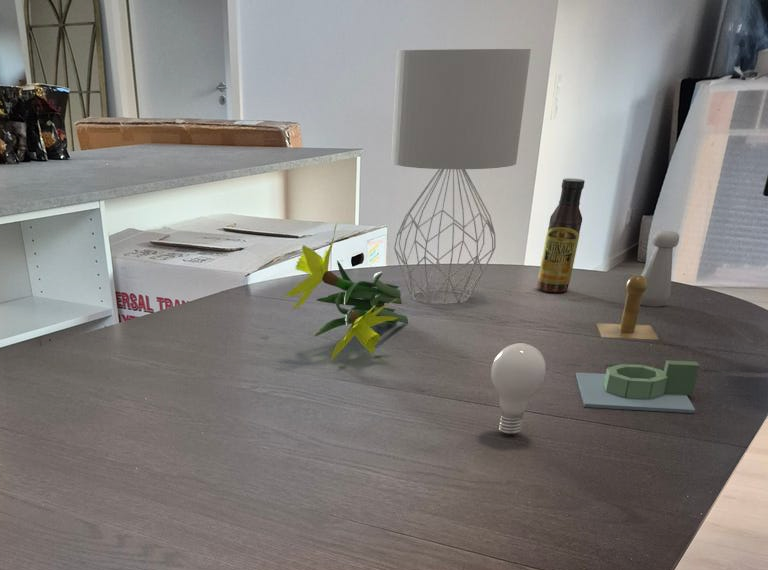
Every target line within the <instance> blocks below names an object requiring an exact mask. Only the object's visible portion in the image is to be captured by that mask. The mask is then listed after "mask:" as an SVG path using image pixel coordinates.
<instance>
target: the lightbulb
mask: <svg viewBox="0 0 768 570" xmlns="http://www.w3.org/2000/svg"><path fill="white" fill-rule="evenodd" d="M546 374H547V363H546V360H545V357H544V355H543V354H542V353H541V351H540V350H539V349H538V348H536V347H535V346H533V345H532V344H528V343H522V342H520V343H519V342H518V343H513V344H510V345H507V346H506V347H504V348H502V349H501V350H500V351H499V352H498V353H497V355H496V356H495V358H494V360H493V362H492V364H491V369H490V377H491V378H490V379H491V382H492V385H493V387H494V390H495V392H496V393H497V395H498V400H499V409H500V419H499V421H500V422H499V426H498V427H499V428H498V430H499V431H500V432H501V433H502V434H504V435H505V436H509V437H510V436H514V435H517V434H518V433H520V432H521V431H522V426H523V425H522V424H523V420H524V419H523V418H524V413H525V411H526V410H527V408H528V405H529V403H530V401H531V399H532V397H533V396H534V395H535V394H536V393H537V391H538V390H539V389H540V388H541V386H542V385H543V383H544V381H545V378H546Z"/></svg>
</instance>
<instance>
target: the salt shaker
mask: <svg viewBox="0 0 768 570" xmlns="http://www.w3.org/2000/svg"><path fill="white" fill-rule="evenodd" d="M679 242H680V234H679V233H678V232H677V231H674V230H660V231H657V232H656V233H654V235H653V238H652V245H653V246H654V248H653V250H652V254H651V257H650V259H649V261H648V264H647V266H646V269H645V272H644V274H643V276H644V277H645V278H646V280H647V288H646V290H645V291H644V292H643V294H642V299H641V303H640V306H645V307H652V308H656V307H664V306H665V305H666V304H667V302H668V300H669V299H670V298H671V295H672V293H671V292H672V275H673V274H672V273H673V272H672V271H673V249H674V248H676V247H677V246H678V245H679Z"/></svg>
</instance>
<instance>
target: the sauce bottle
mask: <svg viewBox="0 0 768 570" xmlns="http://www.w3.org/2000/svg"><path fill="white" fill-rule="evenodd" d="M584 187H585V179H581V178H574V177H573V178H571V177H569V178H568V177H566V178H563V179H562V182H561V193H560V197H559V200H558V204H557V206H556V208H555V210H554V211H553V212H552V214H551V215H550V217H549V223H548V228H547V231H546V236H545V241H544V245H543V250H542V256H541V262H540V266H539V271H538V272H539V273H538V276H537V280H538V281H537V285H536V286H537V287H536V288H537V289H538V290H539V291H542V292H546V293H555V294H557V293H558V294H559V293H564V292H566V291H568V289H569V286H570V283H571V278H572V274H573V268H574V264H575V260H576V259H575V258H576V254H577V249H578V245H579V240H580V231H581V228H582V223H583V216H582V213H581V210H580V205H581V197H582V191H583V189H584Z"/></svg>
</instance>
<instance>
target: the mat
mask: <svg viewBox="0 0 768 570" xmlns="http://www.w3.org/2000/svg"><path fill="white" fill-rule="evenodd" d="M605 376H606V373H596V372H595V373H594V372H576V373H575V378H576V382H577V385H578V390H579V393H580V397H581V400H582V405H583V407H584V408H594V409H609V410H628V411H644V412H660V413H661V412H663V413H680V414H681V413H682V414H695V413H696V408H695V406H694V405H693V403H692V401H691V400H690V398H689V395H687V394H667V393H664V394H663V395H661V396H658V397H655V398H652V399H635V398H626V397H625V398H624V397H621V396H618V395H615V394H611V393H608V392H606V390H605V387H604V381H605Z"/></svg>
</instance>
